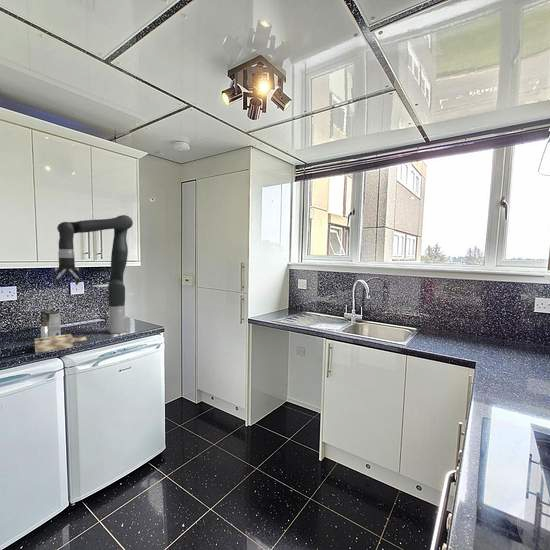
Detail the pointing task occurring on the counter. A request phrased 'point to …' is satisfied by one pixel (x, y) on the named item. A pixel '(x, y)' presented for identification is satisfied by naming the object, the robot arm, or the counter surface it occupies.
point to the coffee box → (51, 322)
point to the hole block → (53, 343)
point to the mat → (79, 339)
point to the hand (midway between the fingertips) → (67, 285)
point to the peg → (44, 333)
